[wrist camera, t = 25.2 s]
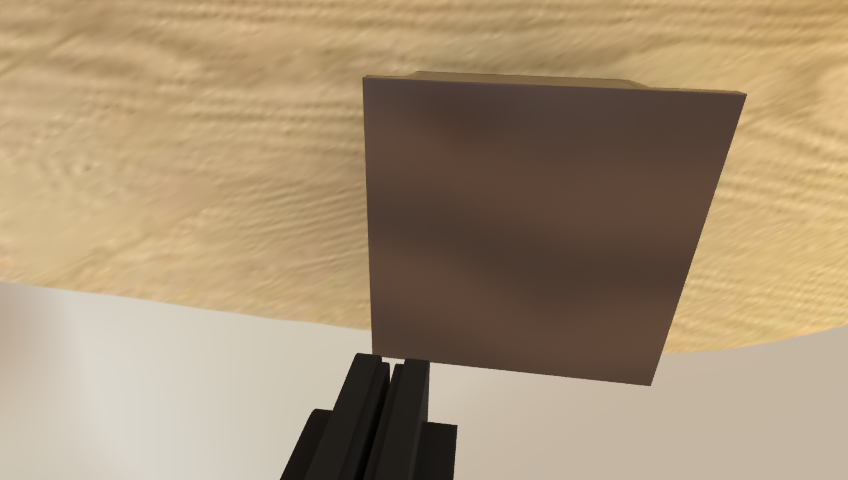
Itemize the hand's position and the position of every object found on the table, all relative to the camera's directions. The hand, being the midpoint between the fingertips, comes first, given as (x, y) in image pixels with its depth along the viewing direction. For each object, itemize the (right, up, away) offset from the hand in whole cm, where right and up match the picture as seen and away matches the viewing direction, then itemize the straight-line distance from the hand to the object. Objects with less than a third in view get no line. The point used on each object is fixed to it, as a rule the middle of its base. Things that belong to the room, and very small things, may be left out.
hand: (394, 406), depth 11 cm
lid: (+6, +4, +13) cm, 14 cm away
